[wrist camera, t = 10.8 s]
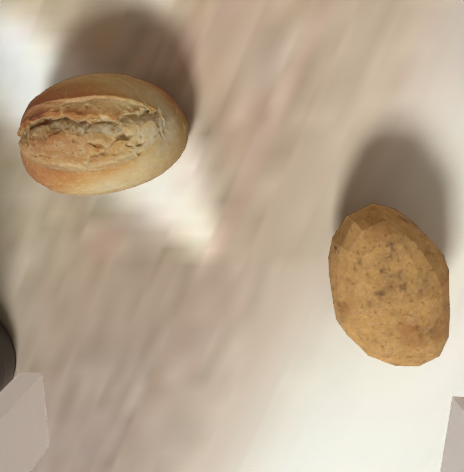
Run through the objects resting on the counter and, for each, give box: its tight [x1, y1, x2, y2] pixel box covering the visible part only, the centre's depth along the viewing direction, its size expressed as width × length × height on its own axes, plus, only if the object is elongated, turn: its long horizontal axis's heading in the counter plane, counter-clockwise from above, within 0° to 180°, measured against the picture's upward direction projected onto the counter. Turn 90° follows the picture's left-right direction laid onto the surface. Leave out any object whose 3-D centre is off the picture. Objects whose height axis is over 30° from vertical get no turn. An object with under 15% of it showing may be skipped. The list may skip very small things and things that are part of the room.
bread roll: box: [17, 73, 188, 195], centre depth 35 cm, size 10×15×8 cm, turn 103°
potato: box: [328, 203, 450, 366], centre depth 35 cm, size 10×14×8 cm
